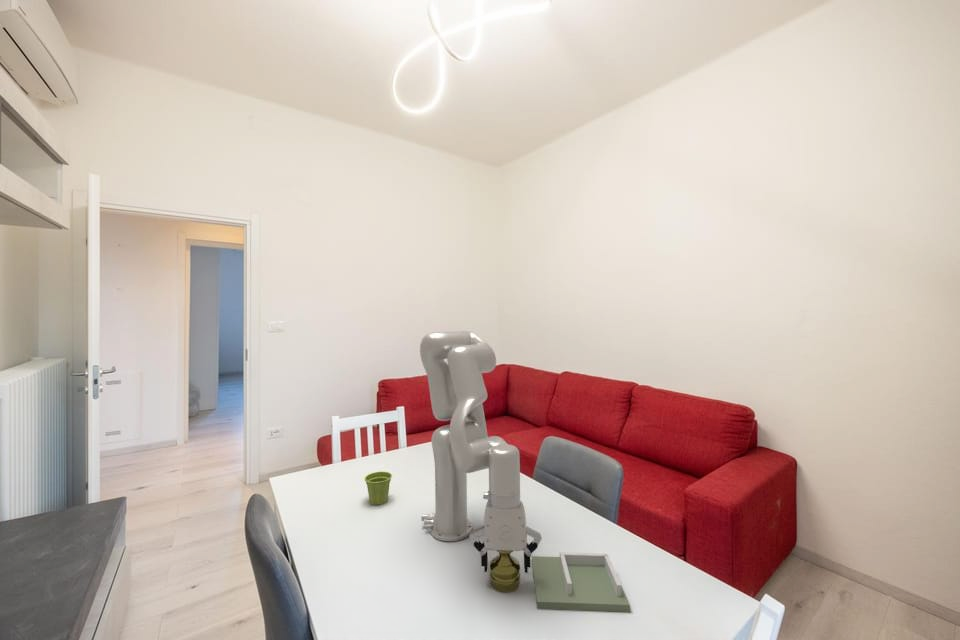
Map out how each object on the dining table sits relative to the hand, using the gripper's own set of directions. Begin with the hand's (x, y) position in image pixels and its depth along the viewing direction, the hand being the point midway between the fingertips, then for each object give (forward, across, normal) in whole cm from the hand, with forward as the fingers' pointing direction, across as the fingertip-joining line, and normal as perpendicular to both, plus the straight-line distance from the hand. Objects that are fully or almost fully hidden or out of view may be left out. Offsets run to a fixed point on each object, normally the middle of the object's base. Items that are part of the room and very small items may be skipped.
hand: (505, 569), depth 92 cm
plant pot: (+3, -44, +39) cm, 59 cm away
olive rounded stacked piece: (+4, 0, 0) cm, 4 cm away
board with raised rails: (+4, +17, 0) cm, 17 cm away
